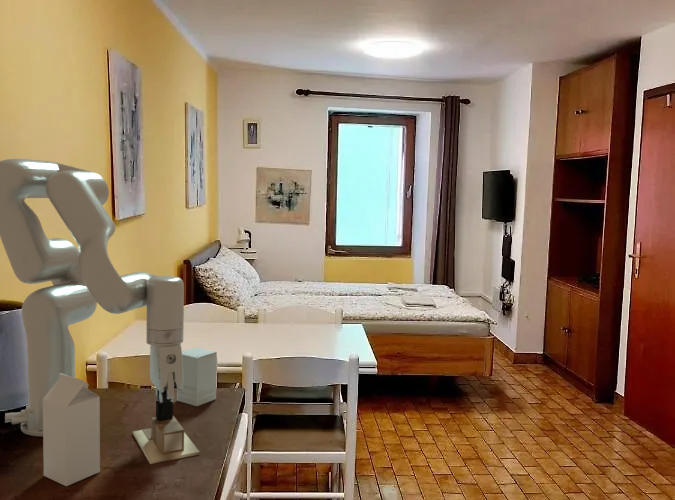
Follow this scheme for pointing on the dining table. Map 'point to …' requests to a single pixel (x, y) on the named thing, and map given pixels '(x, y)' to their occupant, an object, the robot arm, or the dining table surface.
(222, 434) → the dining table surface
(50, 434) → the milk carton
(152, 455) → the board
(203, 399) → the supplement box
